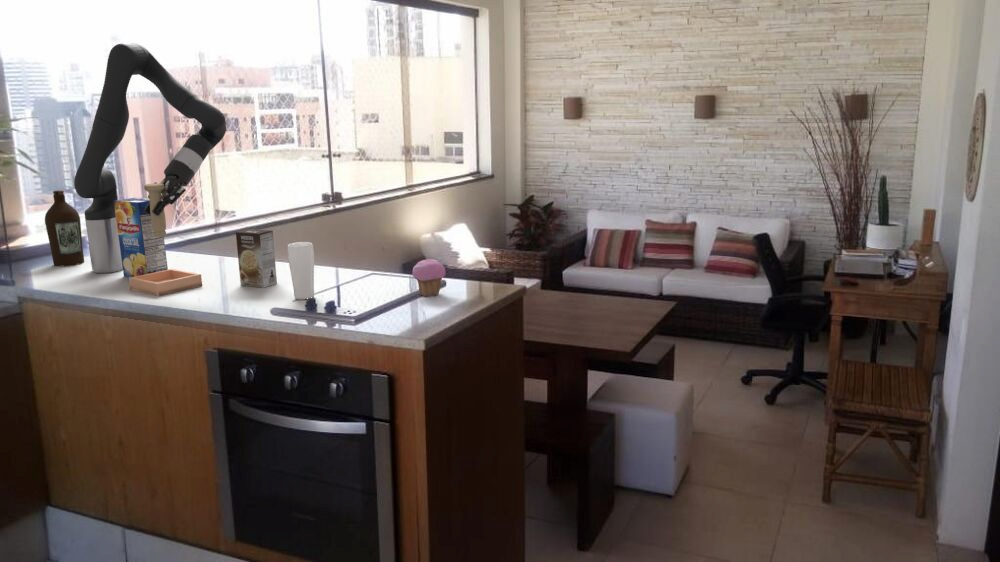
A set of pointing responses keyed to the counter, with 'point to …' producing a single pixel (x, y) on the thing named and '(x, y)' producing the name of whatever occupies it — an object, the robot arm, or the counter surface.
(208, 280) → the counter surface
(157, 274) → the tray
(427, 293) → the cupcake
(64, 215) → the olive oil
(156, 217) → the handle
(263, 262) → the coffee box
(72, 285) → the counter surface
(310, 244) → the drinking glass
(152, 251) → the juice carton
